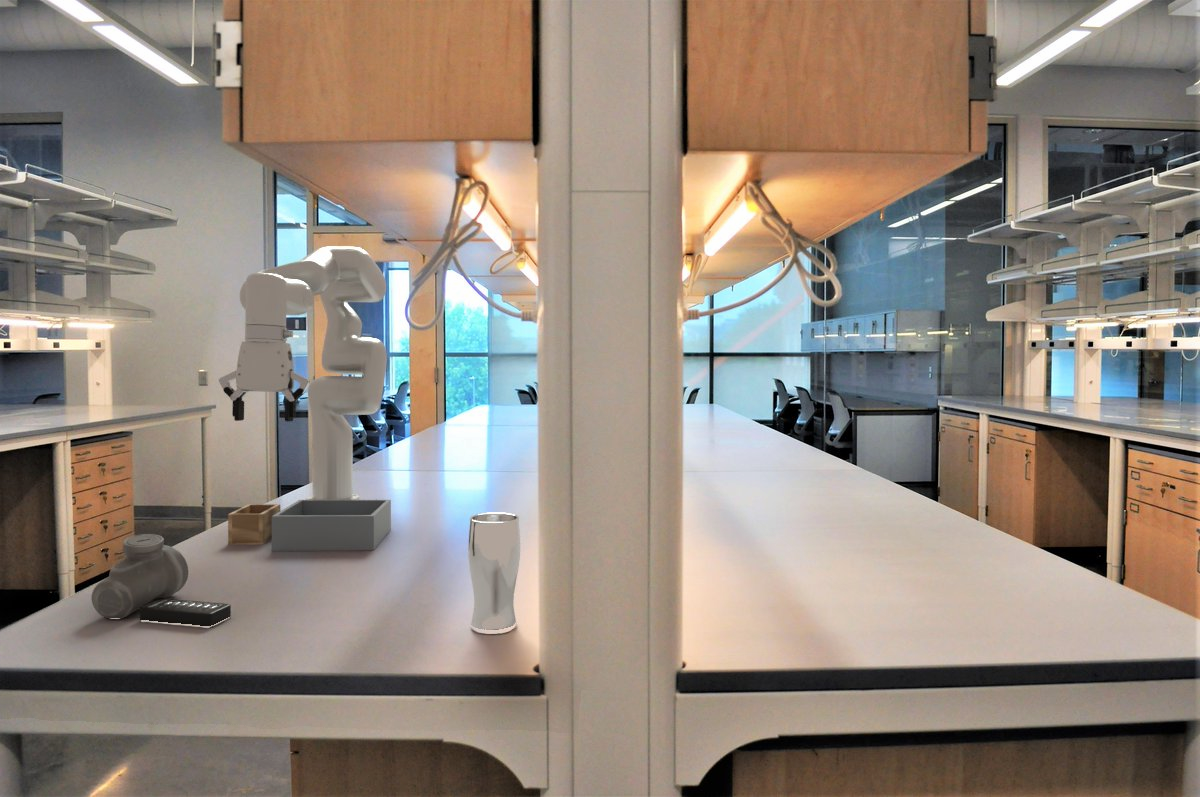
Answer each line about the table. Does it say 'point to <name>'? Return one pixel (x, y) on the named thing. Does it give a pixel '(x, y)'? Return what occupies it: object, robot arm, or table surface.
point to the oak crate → (251, 524)
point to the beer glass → (494, 568)
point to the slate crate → (331, 525)
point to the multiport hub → (185, 612)
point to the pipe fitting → (140, 576)
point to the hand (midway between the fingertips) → (264, 420)
